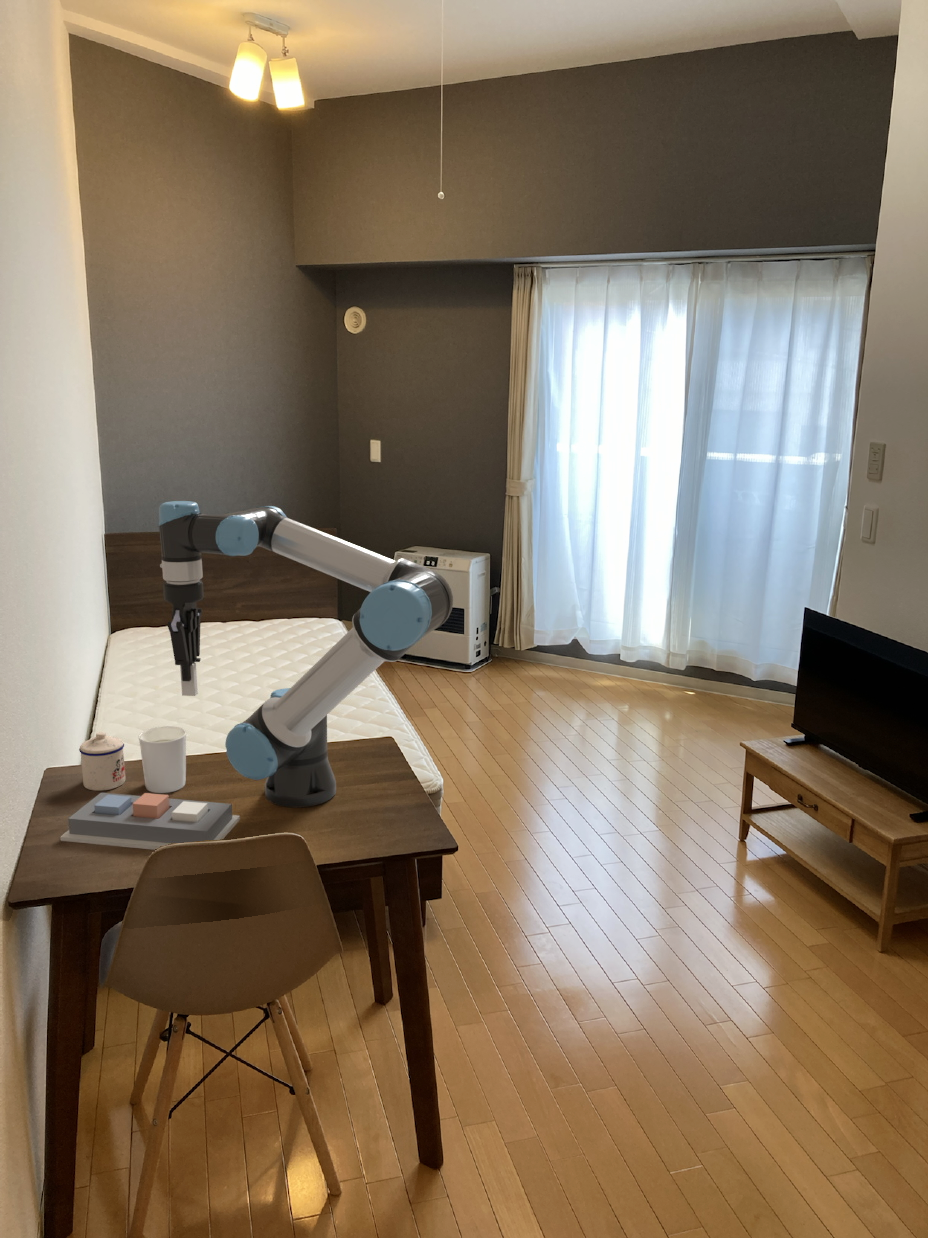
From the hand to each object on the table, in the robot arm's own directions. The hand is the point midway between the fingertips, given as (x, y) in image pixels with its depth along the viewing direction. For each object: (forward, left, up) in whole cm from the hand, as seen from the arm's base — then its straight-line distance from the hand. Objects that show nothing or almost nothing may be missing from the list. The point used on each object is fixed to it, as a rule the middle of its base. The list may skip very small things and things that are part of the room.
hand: (189, 694), depth 188 cm
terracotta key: (+3, +12, -21) cm, 24 cm away
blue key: (+11, +12, -22) cm, 27 cm away
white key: (-5, +12, -22) cm, 25 cm away
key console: (+3, +12, -24) cm, 27 cm away
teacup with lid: (+24, -8, -25) cm, 35 cm away
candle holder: (+10, -8, -25) cm, 28 cm away
